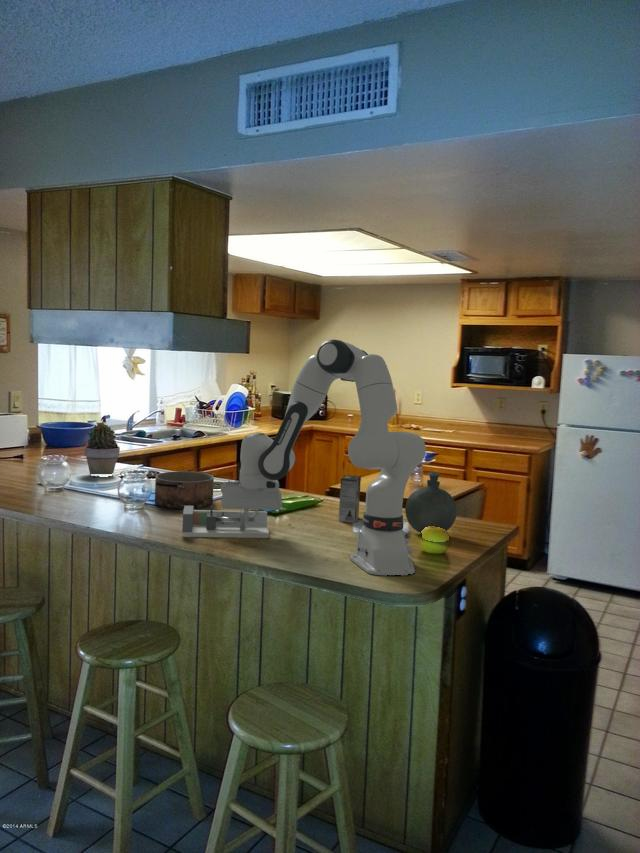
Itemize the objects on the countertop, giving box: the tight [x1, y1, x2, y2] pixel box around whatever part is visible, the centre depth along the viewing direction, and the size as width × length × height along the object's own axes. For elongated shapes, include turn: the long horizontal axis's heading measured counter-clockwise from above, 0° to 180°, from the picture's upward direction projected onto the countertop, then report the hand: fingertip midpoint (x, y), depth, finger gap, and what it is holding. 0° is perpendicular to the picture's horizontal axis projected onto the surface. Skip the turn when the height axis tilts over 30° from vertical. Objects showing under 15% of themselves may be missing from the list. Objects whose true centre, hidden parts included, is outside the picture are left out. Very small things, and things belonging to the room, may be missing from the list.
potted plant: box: [83, 422, 121, 475], centre depth 316 cm, size 18×20×25 cm
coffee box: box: [338, 474, 362, 523], centre depth 258 cm, size 9×6×16 cm
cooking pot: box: [154, 470, 215, 510], centre depth 270 cm, size 30×22×11 cm
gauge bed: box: [181, 506, 270, 539], centre depth 230 cm, size 12×28×8 cm, turn 99°
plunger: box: [216, 509, 245, 530], centre depth 230 cm, size 6×10×5 cm, turn 99°
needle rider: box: [206, 505, 216, 529], centre depth 229 cm, size 5×3×7 cm, turn 9°
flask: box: [404, 471, 458, 534], centre depth 242 cm, size 12×17×22 cm
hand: (250, 521), depth 232 cm, fingers closed
